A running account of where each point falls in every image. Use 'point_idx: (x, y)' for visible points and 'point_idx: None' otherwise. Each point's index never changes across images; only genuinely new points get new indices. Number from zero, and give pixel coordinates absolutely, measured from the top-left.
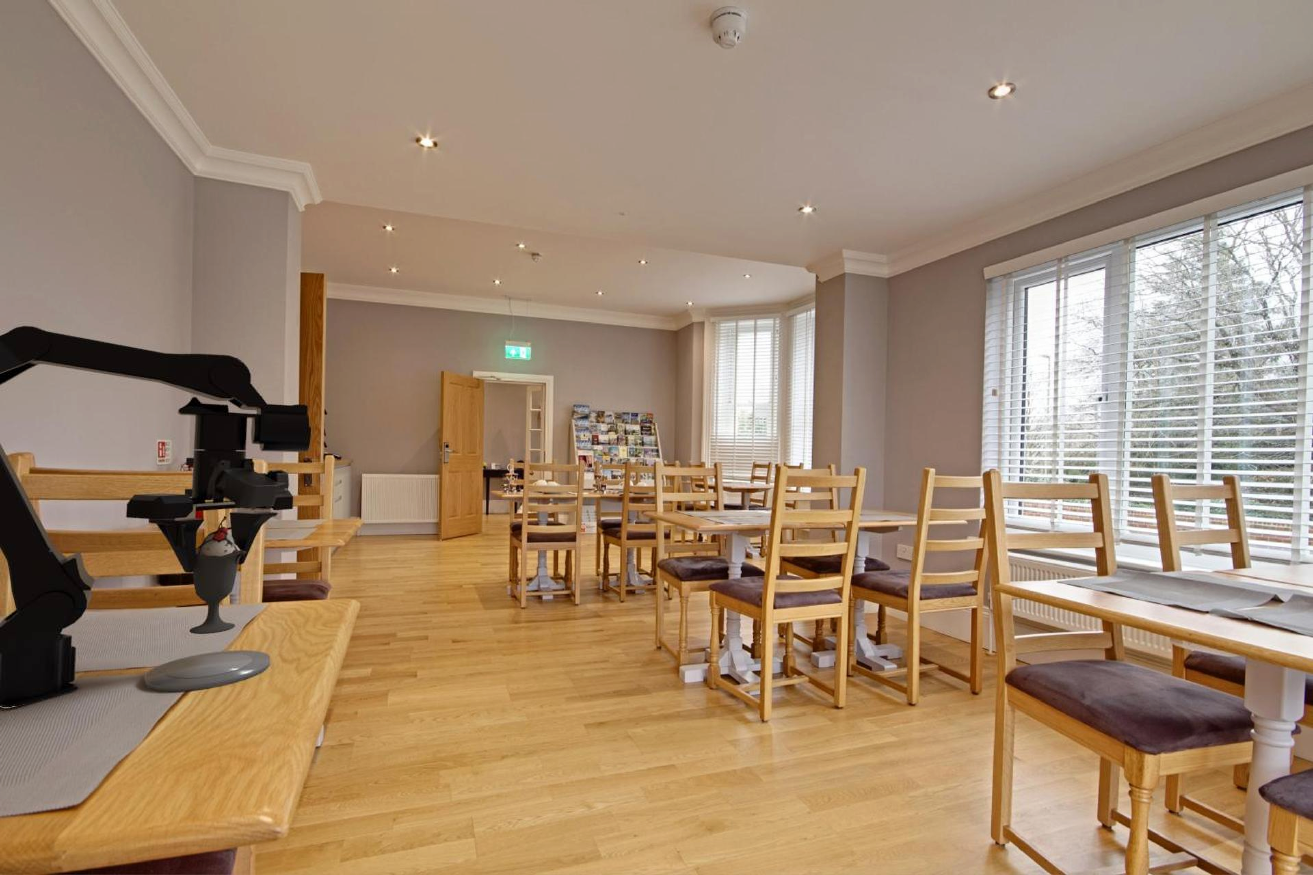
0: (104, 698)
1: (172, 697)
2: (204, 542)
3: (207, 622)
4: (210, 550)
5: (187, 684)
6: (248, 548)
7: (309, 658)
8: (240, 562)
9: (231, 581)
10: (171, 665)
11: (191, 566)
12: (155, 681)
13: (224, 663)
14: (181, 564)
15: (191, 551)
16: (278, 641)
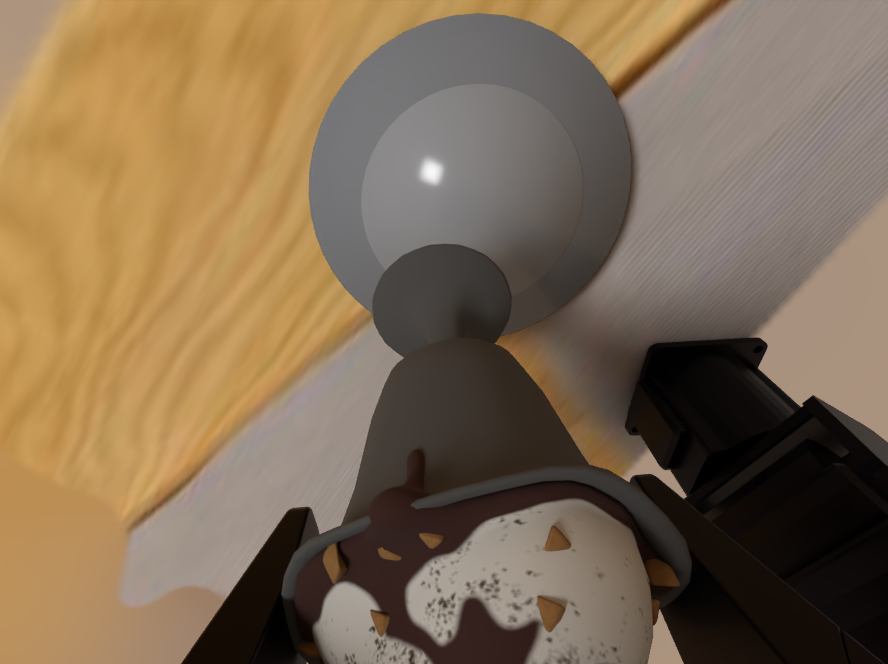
0: (684, 248)
1: (660, 85)
2: None
3: (470, 317)
4: (647, 583)
5: (616, 104)
6: (234, 614)
7: (207, 3)
8: (307, 520)
9: (428, 373)
10: None
11: (674, 499)
12: (616, 215)
13: (446, 185)
14: None
15: (777, 597)
16: (186, 302)
